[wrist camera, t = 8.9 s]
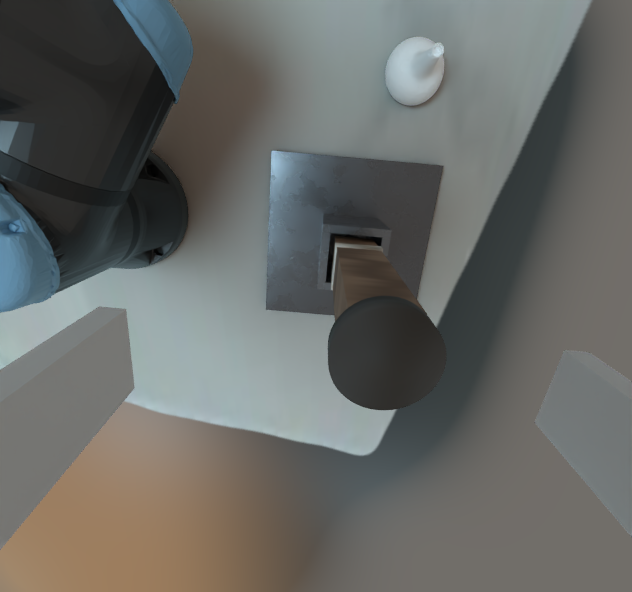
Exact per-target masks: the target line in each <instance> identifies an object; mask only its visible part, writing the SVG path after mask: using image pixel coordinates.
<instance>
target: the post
mask: <svg viewBox="0 0 632 592" xmlns="http://www.w3.org/2000/svg"><path fill="white" fill-rule="evenodd" d="M331 274H332V278H331V290H333V300H334V313H335V323H334V325H333V327H332V329H331V332H330V335H329V339H328V365H329V372H330V375H331V378H332V380H333V383H334V384H335V386H336V388H337V389H338V390H339V391H340V392H341V394H343V395H344V396H345V397H346V398H347V399H349V400H350V401H352V402H353V403H355V404H357V405H360V406H362V407H365V408H369V409H375V410H393V409H399V408H403V407H406V406H409V405H411V404H413V403H415V402H417V401H419V400H420V399H422V398H423V397H425V396H426V395H427V394H428V393H429V392H430V391H432V389H433V388H434V387H435V386H436V385H437V383H438V382H439V380H440V378H441V376H442V374H443V371H444V369H445V364H446V348H445V344H444V340H443V338H442V336H441V334H440V333H439V331H438V330H437V328H436V327H435V325H434V324H433V323H432V321H431V320H430V318H429V317H428V316H427V313H426V312H425V310H424V309H423V308H422V306H421V305H420V304H419V302H418V301H417V299H416V298H415V297H414V295H413V294H412V293H411V291H410V290H409V288H408V287H407V286H406V284H405V283H404V281H403V280H402V279H401V277H400V276H399V275H398V273H397V272H396V270H395V269H394V268H393V266H392V265H391V263H390V262H389V261H388V259H387V258H386V257H385V255H384V254H383V248H382V247H381V246H378V245H377V244H376V243H375V241H374V240H373V239H366V238H355V237H343V236H335V242H334V252H333V261H332V271H331Z"/></svg>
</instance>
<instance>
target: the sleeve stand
mask: <svg viewBox="0 0 632 592" xmlns="http://www.w3.org/2000/svg"><path fill="white" fill-rule="evenodd" d="M442 169H443V166H439V165H428V164H417V163H406V162H394V161H383V160H372V159H361V158H350V157H339V156H327V155H316V154H305V153H294V152H283V151H272V153H271V182H270V210H269V239H268V267H267V296H266V310H278V311H290V312H301V313H313V314H325V315H335V313H334V300H333V290H331V278H332V274H331V271H332V261H333V252H334V242H335V236H343V237H355V238H366V239H373V240H374V241H375V243H376V244H377V245H378V246H381V247H382V248H383V254H384V255H385V257H386V258H387V259H388V261H389V262H390V263H391V265H392V266H393V268H394V269H395V270H396V272H397V273H398V275H399V276H400V277H401V279H402V280H403V281H404V283H405V284H406V286H407V287H408V288H409V290H410V291H411V293H412V294H413V295H414V297H415V298H416V299H417V294H418V289H419V284H420V279H421V274H422V269H423V264H424V259H425V254H426V249H427V244H428V239H429V234H430V229H431V224H432V219H433V214H434V209H435V204H436V199H437V194H438V189H439V184H440V179H441V174H442Z"/></svg>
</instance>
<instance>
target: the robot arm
mask: <svg viewBox="0 0 632 592" xmlns="http://www.w3.org/2000/svg"><path fill="white" fill-rule="evenodd" d="M192 57H193V46H192V40H191V37H190V34H189V32H188V29H187V27H186V25H185V24H184V22H183V20H182V19H181V17H180V16H179V14H178V13H177V11H176V10H175V9H174V7H173V6H172V5H171V3H170V2H169V1H168V0H0V312H6V311H11V310H15V309H18V308H21V307H24V306H27V305H30V304H33V303H40V302H43V301H45V300H47V299H48V298H51V296H52V295H54V294H55V293H57V292H60V291H62V290H64V289H66V288H68V287H70V286H72V285H75V284H77V283H79V282H81V281H83V280H85V279H88V278H90V277H92V276H94V275H96V274H98V273H100V272H103V271H105V270H107V269H109V268H124V269H136V268H142V267H146V266H150V265H152V264H155V263H157V262H159V261H160V260H162V259H164V258H166V257H167V256H169V255H170V254H171V253H172V252H173V251H174V250H175V249H176V248H177V247H178V246H179V244H180V243H181V241H182V239H183V237H184V234H185V232H186V228H187V222H188V207H187V201H186V197H185V194H184V191H183V189H182V186H181V184H180V182H179V180H178V179H177V177H176V176H175V174H174V173H173V171H172V170H171V169H170V168H169V167H168V165H167V164H166V163H165V162H164V161H163V160H161V159H160V158H159V157H158V156H156V155H155V154H154V153H152V152H151V149H152V147H153V145H154V143H155V141H156V138H157V136H158V134H159V132H160V130H161V128H162V126H163V124H164V122H165V120H166V118H167V116H168V113H169V111H170V109H171V107H172V105H173V103H174V104H177V102H178V100H179V97H180V95H179V90H180V88H181V86H182V83H183V81H184V79H185V76H186V74H187V71H188V69H189V67H190V64H191V62H192ZM133 389H134V379H133V370H132V360H131V351H130V342H129V333H128V323H127V314H126V309H120V308H109V307H98V308H96V309H95V310H93V311H92V312H90V313H89V314H87V315H85V316H84V317H82V318H81V319H79V320H78V321H76V322H74V323H73V324H71V325H70V326H68V327H67V328H65V329H64V330H62V331H60V332H59V333H57V334H56V335H54V336H53V337H51V338H49V339H48V340H46V341H45V342H43V343H42V344H40V345H38V346H37V347H35V348H34V349H32V350H31V351H29V352H28V353H26V354H24V355H23V356H21V357H20V358H18V359H17V360H15V361H13V362H12V363H10V364H9V365H7V366H6V367H4V368H3V369H1V370H0V550H1V548H2V547H3V546H4V545H5V544H6V542H7V541H8V540H9V539H10V538H11V536H12V535H13V534H14V533H15V531H16V530H17V529H18V528H19V526H21V524H22V523H23V522H24V521H25V519H26V518H27V517H28V516H29V515H30V513H31V512H32V511H33V510H34V508H35V507H36V506H37V505H38V504H39V503H40V501H41V500H42V499H43V497H45V495H46V494H47V493H48V492H49V491H50V489H51V488H52V487H53V486H54V484H55V483H56V482H57V481H58V480H59V478H60V477H61V476H62V475H63V474H64V472H65V471H66V470H67V469H68V468H69V466H70V465H71V464H72V463H73V462H74V460H75V459H76V458H77V457H78V455H79V454H80V453H81V452H82V451H83V450H84V448H85V447H86V446H87V445H88V443H89V442H90V441H91V440H92V439H93V437H94V436H95V435H96V434H97V433H98V431H99V430H100V429H101V428H102V426H103V425H104V424H105V423H106V422H107V420H108V419H109V418H110V417H111V416H112V415H113V413H114V412H115V411H116V410H117V409H118V407H119V406H120V405H121V404H122V402H123V401H124V400H125V399H126V398H127V396H128V395H129V394H130V393H131V392H132V390H133ZM535 424H536V425H537V426H538V427H539V428H540V429H541V431H542V432H543V433H544V434H545V435H546V437H547V438H548V439H549V440H550V441H551V442H552V444H553V445H554V446H555V447H556V448H557V449H558V451H559V452H560V453H561V454H562V455H563V457H564V458H565V459H566V460H567V461H568V462H569V464H570V465H571V466H572V467H573V468H574V470H575V471H576V472H577V473H578V474H579V475H580V477H581V478H582V479H583V480H584V481H585V482H586V484H587V485H588V486H589V487H590V489H591V490H592V491H593V492H594V493H595V494H596V495H597V497H598V498H599V499H600V500H601V502H602V503H603V504H604V505H605V506H606V507H607V508H608V510H609V511H610V512H611V513H612V514H613V516H614V517H615V518H616V519H617V520H618V522H619V523H620V524H621V525H622V526H623V527H624V528H625V530H626V531H627V532H628V533H629V535H630V536H631V537H632V381H630V380H629V379H627V378H626V377H624V376H623V375H622V374H620V373H619V372H617V371H616V370H614V369H613V368H611V367H610V366H608V365H607V364H605V363H604V362H602V361H601V360H600V359H598V358H597V357H595V356H594V355H592V354H591V353H589V352H581V351H570V350H564V352H563V355H562V357H561V360H560V362H559V365H558V367H557V369H556V372H555V374H554V377H553V379H552V382H551V384H550V387H549V389H548V391H547V394H546V397H545V399H544V401H543V403H542V406H541V408H540V411H539V413H538V416H537V418H536V420H535Z"/></svg>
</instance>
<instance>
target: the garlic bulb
mask: <svg viewBox="0 0 632 592" xmlns="http://www.w3.org/2000/svg"><path fill="white" fill-rule="evenodd" d="M439 44H440V45H439ZM441 44H442V43H436V44H435V43H434V42H433V41H432V40H430V39H428V38H425V37H412V38H409V39H406V40H404V41H403V42H401V43H400V44H399V45H398V46H397V47H396V48H395V49H394V50H393V51H392V53H391V55H390V57H389V59H388V61H387V64H386V70H385V80H386V85H387V89H388V90H389V92H390V94H391V96H392V97H393V98H394V99H395V100H396V101H398V102H399V103H401V104H404V105H408V106H413V105H419V104H421V103H423V102H425V101H427V100H428V99H429V98H430V97H432V96H433V95H434V93H435V92H436V91H437V89H438V88H439V86H440V84H441V81H442V78H443V74H444V58H443V55H442V54H444V47H443V46H441ZM442 45H443V44H442Z"/></svg>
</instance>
